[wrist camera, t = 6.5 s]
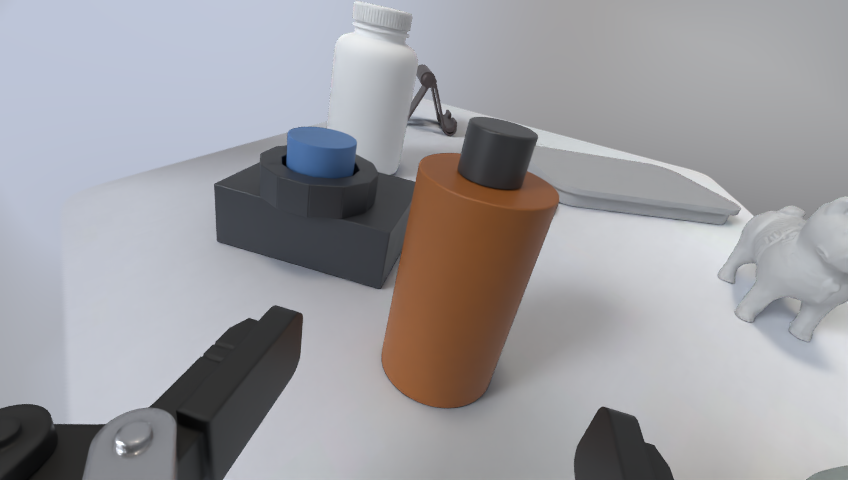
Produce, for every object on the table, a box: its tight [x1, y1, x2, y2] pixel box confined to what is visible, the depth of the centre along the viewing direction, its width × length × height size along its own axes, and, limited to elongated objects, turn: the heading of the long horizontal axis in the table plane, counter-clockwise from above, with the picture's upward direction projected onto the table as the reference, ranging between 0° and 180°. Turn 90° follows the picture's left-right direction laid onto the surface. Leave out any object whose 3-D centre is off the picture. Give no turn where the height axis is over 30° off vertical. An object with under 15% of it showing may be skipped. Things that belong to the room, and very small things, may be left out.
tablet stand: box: [408, 65, 457, 136], centre depth 64 cm, size 9×8×8 cm
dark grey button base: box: [214, 146, 415, 289], centre depth 28 cm, size 11×10×6 cm
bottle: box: [381, 117, 560, 408], centre depth 18 cm, size 6×6×12 cm
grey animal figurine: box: [718, 197, 848, 342], centre depth 30 cm, size 5×13×11 cm, turn 158°
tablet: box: [527, 146, 741, 224], centre depth 54 cm, size 16×26×2 cm, turn 99°
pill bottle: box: [327, 1, 418, 175], centre depth 40 cm, size 8×8×15 cm
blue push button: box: [286, 127, 357, 179], centre depth 25 cm, size 4×4×2 cm
